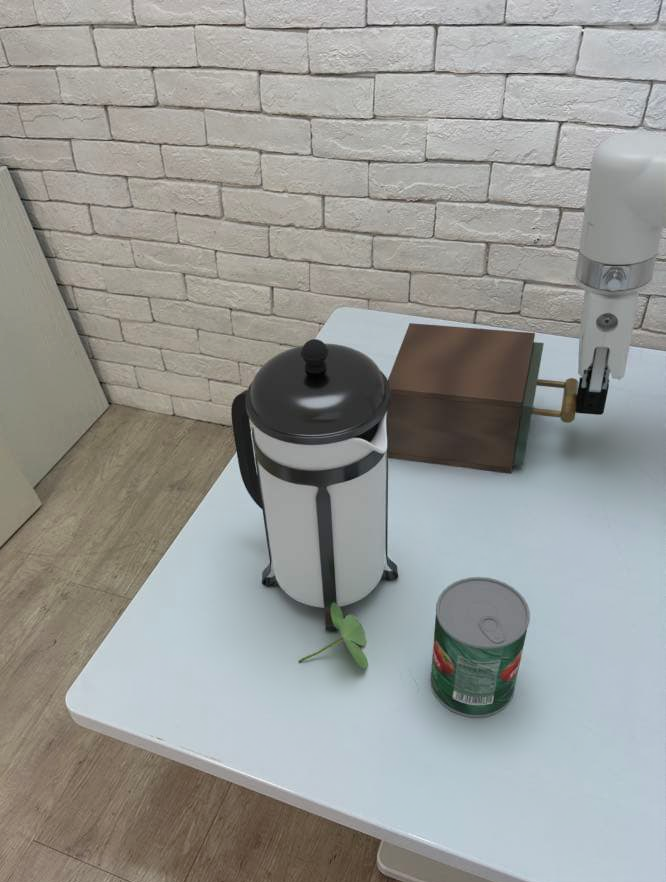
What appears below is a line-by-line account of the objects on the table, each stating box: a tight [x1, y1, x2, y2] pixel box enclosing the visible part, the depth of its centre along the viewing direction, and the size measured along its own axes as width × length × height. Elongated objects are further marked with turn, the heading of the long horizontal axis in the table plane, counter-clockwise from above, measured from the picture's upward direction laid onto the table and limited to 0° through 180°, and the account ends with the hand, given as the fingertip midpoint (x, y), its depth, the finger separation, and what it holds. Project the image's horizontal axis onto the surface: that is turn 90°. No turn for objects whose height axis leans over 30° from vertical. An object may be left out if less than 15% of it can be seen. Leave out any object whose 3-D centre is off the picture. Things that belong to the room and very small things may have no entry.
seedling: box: [298, 602, 369, 669], centre depth 80 cm, size 7×8×6 cm
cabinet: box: [387, 322, 536, 474], centre depth 100 cm, size 16×15×11 cm
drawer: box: [513, 341, 579, 467], centre depth 99 cm, size 19×13×9 cm
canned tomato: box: [429, 576, 531, 718], centre depth 73 cm, size 8×8×11 cm
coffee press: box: [230, 338, 399, 631], centre depth 78 cm, size 17×16×30 cm
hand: (589, 409), depth 96 cm, fingers closed
